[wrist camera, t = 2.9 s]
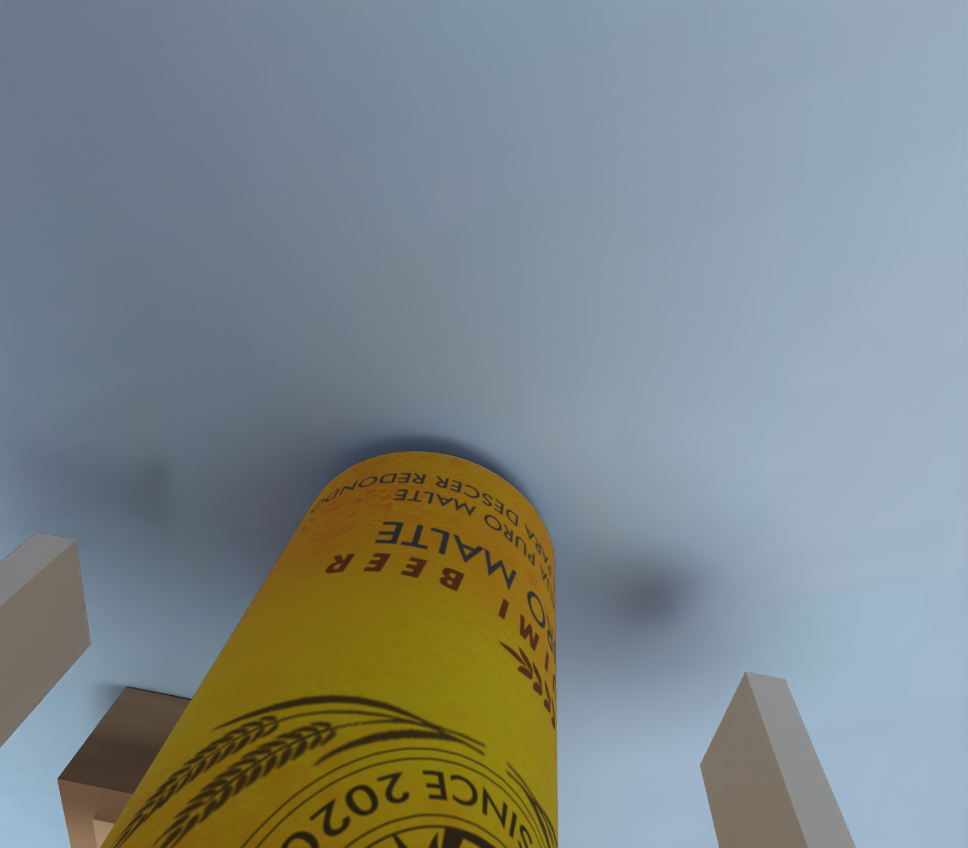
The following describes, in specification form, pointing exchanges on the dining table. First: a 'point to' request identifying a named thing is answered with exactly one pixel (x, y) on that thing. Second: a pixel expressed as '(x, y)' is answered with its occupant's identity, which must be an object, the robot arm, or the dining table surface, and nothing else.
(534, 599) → the beer can
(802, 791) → the robot arm
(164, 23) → the dining table surface
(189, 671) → the dining table surface
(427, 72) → the dining table surface
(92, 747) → the plinth
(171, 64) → the dining table surface
